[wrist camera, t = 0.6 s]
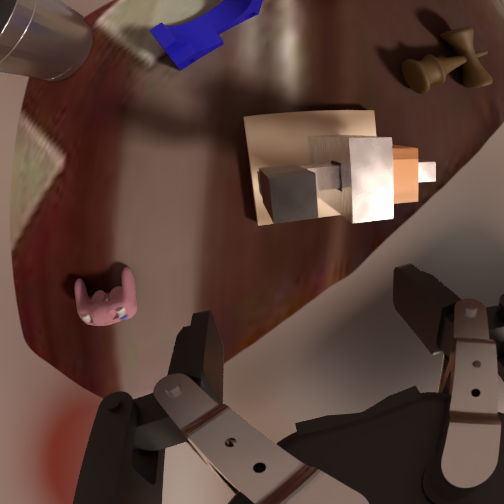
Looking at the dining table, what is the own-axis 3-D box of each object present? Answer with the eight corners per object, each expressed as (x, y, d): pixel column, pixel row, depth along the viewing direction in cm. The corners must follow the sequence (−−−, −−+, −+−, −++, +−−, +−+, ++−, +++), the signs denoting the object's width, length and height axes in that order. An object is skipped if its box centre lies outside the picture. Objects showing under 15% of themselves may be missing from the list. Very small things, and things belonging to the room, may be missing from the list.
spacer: (366, 144, 26) (391, 148, 22) (390, 144, 27) (417, 148, 22) (368, 192, 28) (392, 203, 24) (392, 190, 29) (417, 201, 24)
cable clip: (180, 71, 29) (171, 58, 23) (161, 46, 27) (149, 30, 22) (265, 22, 27) (272, 3, 21) (245, -2, 25) (248, -23, 20)
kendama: (384, 49, 29) (464, 27, 26) (413, 110, 33) (486, 78, 30) (407, 41, 24) (487, 23, 21) (438, 111, 27) (509, 78, 24)
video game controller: (89, 293, 40) (83, 333, 36) (73, 276, 37) (65, 318, 32) (143, 281, 40) (141, 324, 36) (129, 262, 37) (125, 307, 32)
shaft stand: (243, 117, 32) (253, 105, 19) (368, 111, 32) (433, 106, 20) (256, 222, 37) (273, 269, 24) (373, 207, 37) (432, 242, 25)
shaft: (256, 165, 25) (268, 178, 18) (424, 155, 26) (475, 166, 18) (260, 198, 26) (273, 223, 19) (424, 182, 27) (474, 200, 19)
